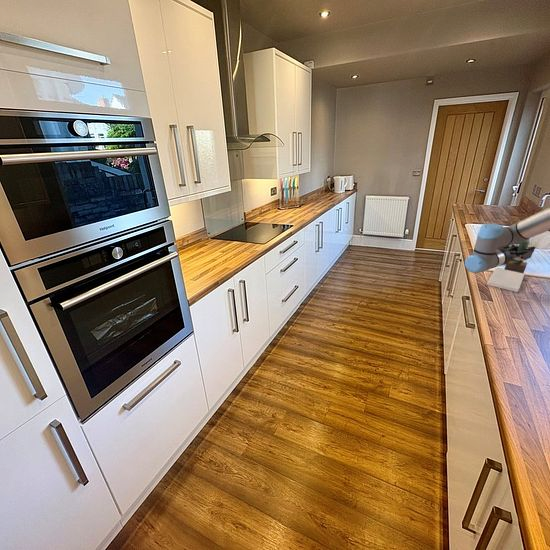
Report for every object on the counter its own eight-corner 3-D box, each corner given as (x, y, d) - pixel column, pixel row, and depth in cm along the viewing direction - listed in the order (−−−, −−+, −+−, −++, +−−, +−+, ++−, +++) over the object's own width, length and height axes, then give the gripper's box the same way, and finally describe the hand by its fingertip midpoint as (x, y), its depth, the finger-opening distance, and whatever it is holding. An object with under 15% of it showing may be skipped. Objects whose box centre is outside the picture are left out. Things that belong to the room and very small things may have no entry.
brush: (524, 269, 133) (535, 240, 126) (523, 273, 129) (534, 243, 123) (505, 266, 137) (515, 237, 131) (504, 269, 134) (514, 240, 128)
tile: (523, 275, 145) (524, 273, 144) (517, 292, 131) (519, 289, 130) (494, 269, 152) (495, 267, 152) (486, 284, 138) (487, 281, 137)
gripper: (474, 259, 131) (506, 250, 139) (514, 273, 117) (546, 262, 126) (479, 243, 127) (512, 235, 136) (520, 255, 114) (553, 245, 123)
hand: (528, 248), depth 131 cm, fingers closed on brush, 3 cm apart
